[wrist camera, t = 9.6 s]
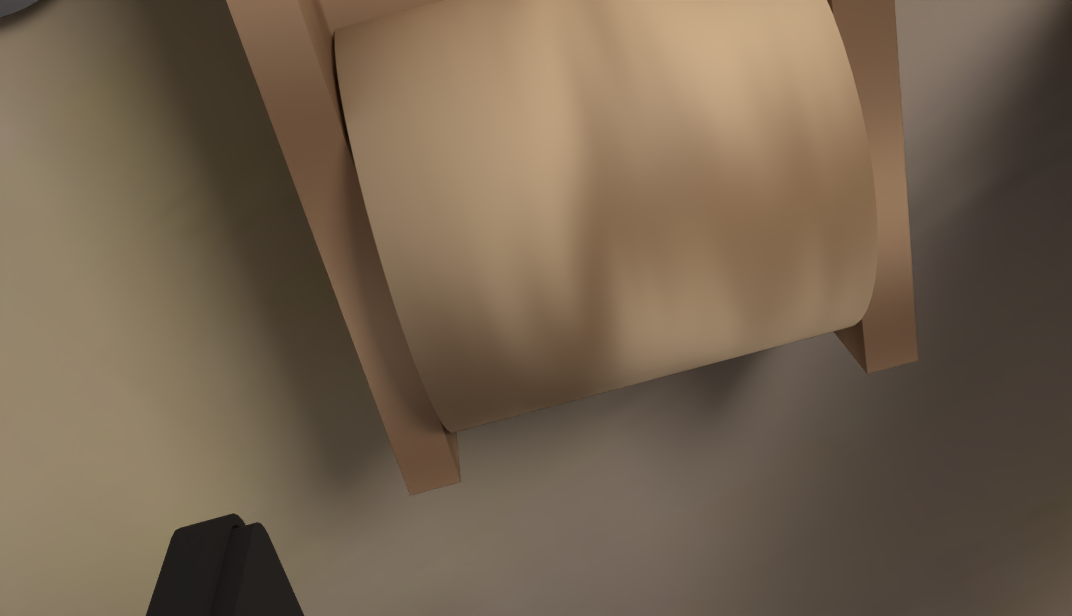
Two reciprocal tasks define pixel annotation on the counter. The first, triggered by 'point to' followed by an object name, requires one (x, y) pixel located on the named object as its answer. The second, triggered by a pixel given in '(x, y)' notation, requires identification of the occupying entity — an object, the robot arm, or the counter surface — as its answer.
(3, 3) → the stand
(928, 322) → the counter surface
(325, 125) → the wooden trough
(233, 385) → the counter surface
